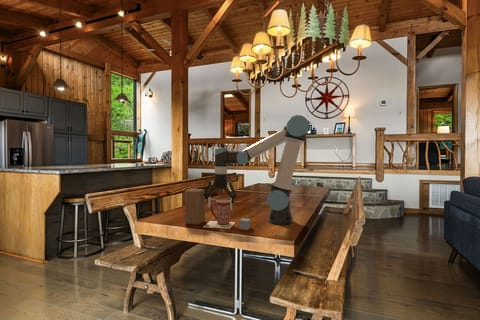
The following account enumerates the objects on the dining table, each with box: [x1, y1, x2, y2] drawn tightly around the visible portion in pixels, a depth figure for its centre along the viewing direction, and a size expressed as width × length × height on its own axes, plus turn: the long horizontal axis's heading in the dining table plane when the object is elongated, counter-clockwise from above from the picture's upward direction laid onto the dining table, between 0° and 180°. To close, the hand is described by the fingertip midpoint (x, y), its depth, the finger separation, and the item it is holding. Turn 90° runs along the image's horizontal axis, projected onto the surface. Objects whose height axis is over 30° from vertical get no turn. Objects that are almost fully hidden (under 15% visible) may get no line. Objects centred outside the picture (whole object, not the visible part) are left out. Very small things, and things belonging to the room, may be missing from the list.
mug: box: [210, 199, 231, 225], centre depth 167 cm, size 13×9×14 cm
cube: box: [239, 218, 251, 231], centre depth 157 cm, size 5×5×5 cm
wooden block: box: [184, 188, 206, 226], centre depth 169 cm, size 10×10×20 cm
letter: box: [202, 220, 236, 230], centre depth 164 cm, size 16×14×1 cm
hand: (220, 208), depth 167 cm, fingers open, 13 cm apart
